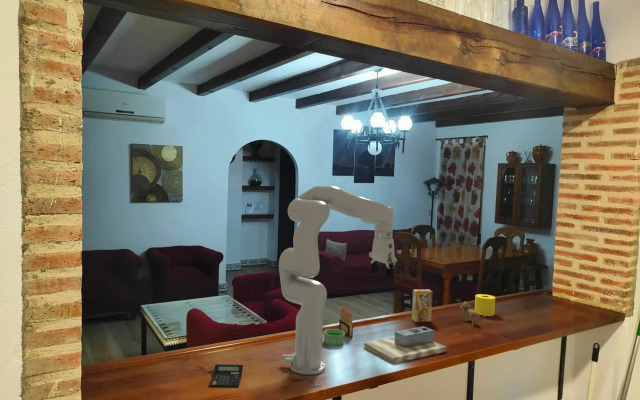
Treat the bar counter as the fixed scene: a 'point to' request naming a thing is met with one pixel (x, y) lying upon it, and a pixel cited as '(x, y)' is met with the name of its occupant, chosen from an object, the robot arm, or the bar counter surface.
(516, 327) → the bar counter surface
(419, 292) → the candy box
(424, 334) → the grey rectangular block
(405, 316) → the bar counter surface
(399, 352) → the board
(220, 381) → the calculator
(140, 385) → the bar counter surface
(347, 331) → the ammunition clip
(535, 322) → the bar counter surface
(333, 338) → the ramekin
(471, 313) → the lion figurine
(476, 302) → the yellow cylinder
